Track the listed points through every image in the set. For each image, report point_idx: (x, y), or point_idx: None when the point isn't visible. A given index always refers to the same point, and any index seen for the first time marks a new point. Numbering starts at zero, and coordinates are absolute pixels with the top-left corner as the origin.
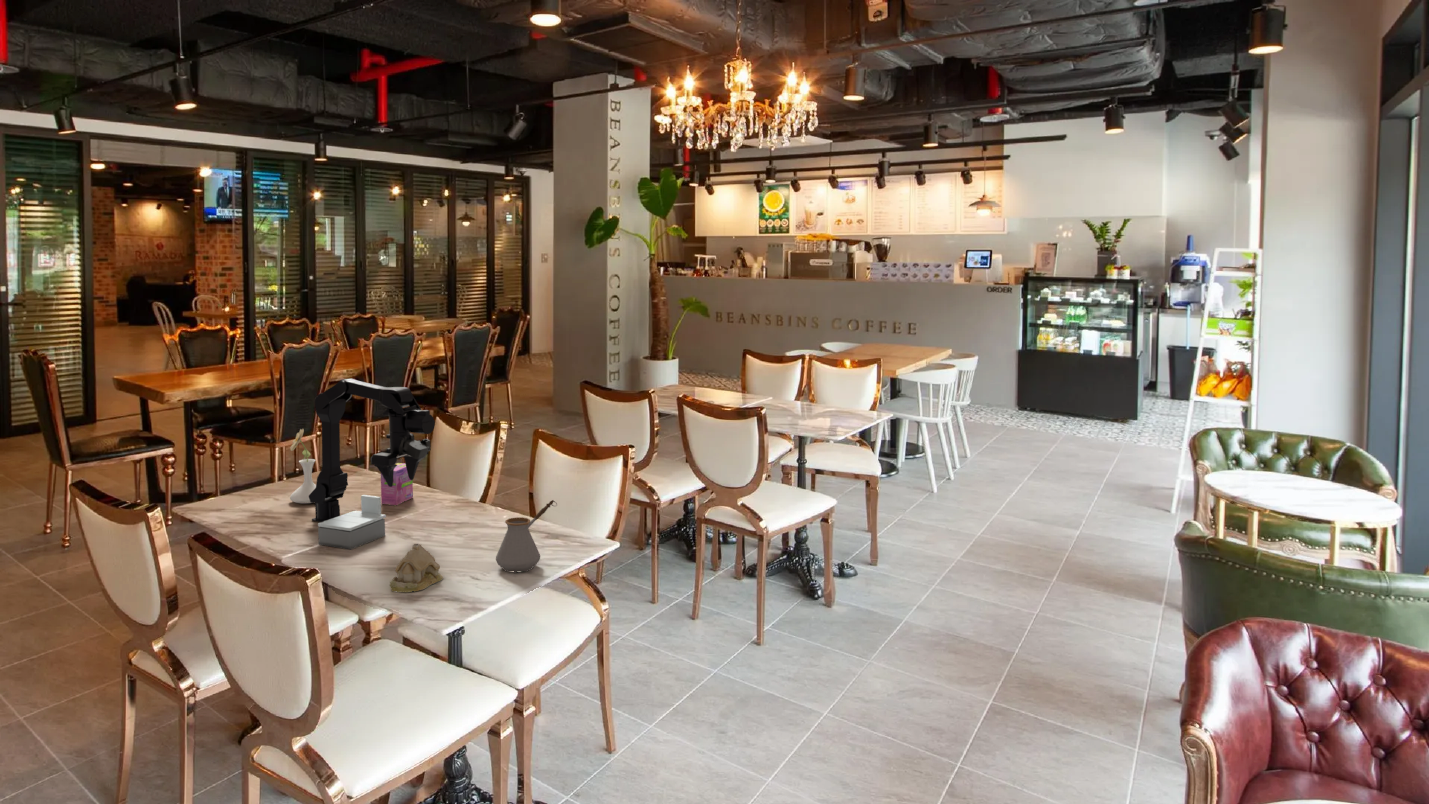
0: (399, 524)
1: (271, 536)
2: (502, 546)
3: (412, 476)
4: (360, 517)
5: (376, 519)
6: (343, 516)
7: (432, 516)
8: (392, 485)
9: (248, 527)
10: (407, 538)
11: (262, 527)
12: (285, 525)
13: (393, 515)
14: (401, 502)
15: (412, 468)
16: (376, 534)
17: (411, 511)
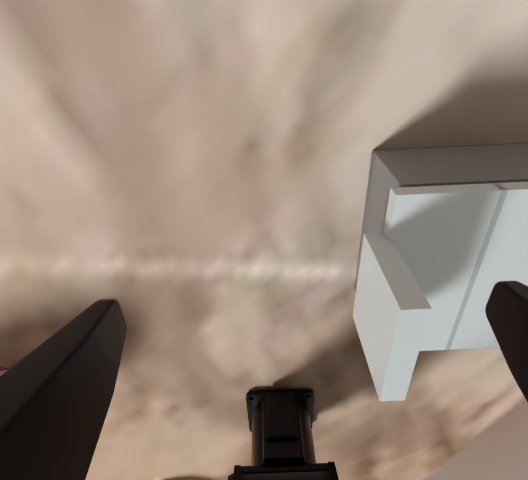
0: (202, 211)
1: (466, 411)
2: None
3: (99, 330)
4: (479, 269)
5: (478, 188)
6: (473, 334)
7: (12, 167)
8: (516, 285)
9: (406, 471)
10: (381, 3)
11: (398, 457)
12: (367, 439)
13: (126, 305)
14: (5, 371)
15: (25, 455)
16: (442, 155)
17: (40, 287)
